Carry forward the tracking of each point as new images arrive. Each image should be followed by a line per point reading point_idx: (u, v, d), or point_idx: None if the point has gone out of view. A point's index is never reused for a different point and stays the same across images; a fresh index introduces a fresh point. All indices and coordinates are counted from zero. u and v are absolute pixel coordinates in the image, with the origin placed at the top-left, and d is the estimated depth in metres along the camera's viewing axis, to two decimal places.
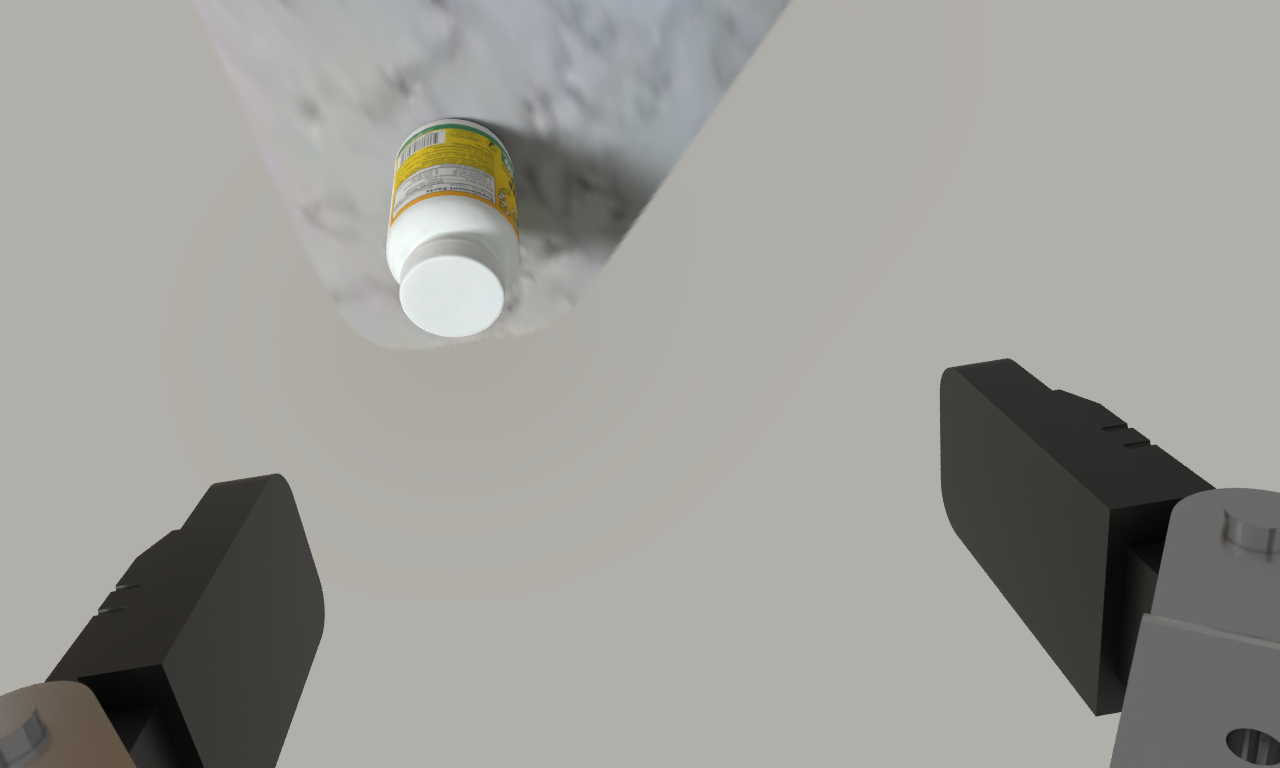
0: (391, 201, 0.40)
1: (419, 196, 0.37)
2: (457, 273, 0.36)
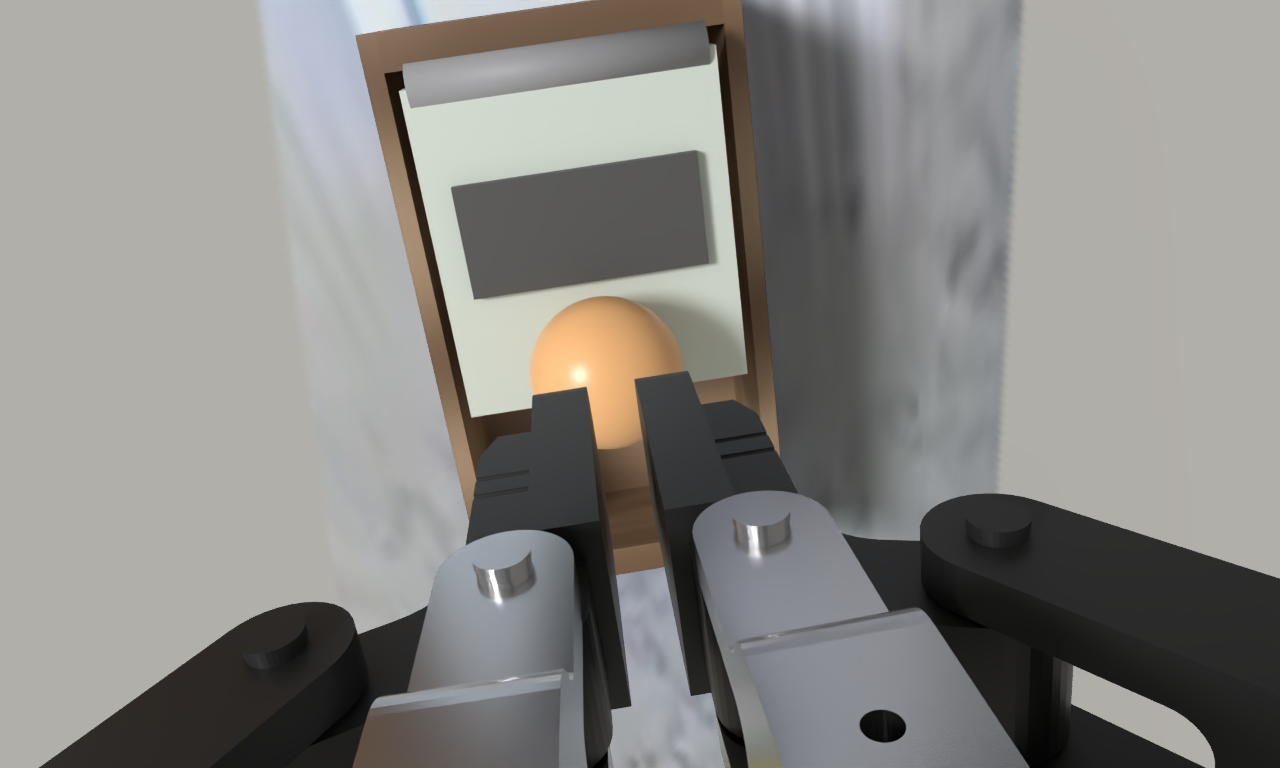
0: None
1: None
2: None
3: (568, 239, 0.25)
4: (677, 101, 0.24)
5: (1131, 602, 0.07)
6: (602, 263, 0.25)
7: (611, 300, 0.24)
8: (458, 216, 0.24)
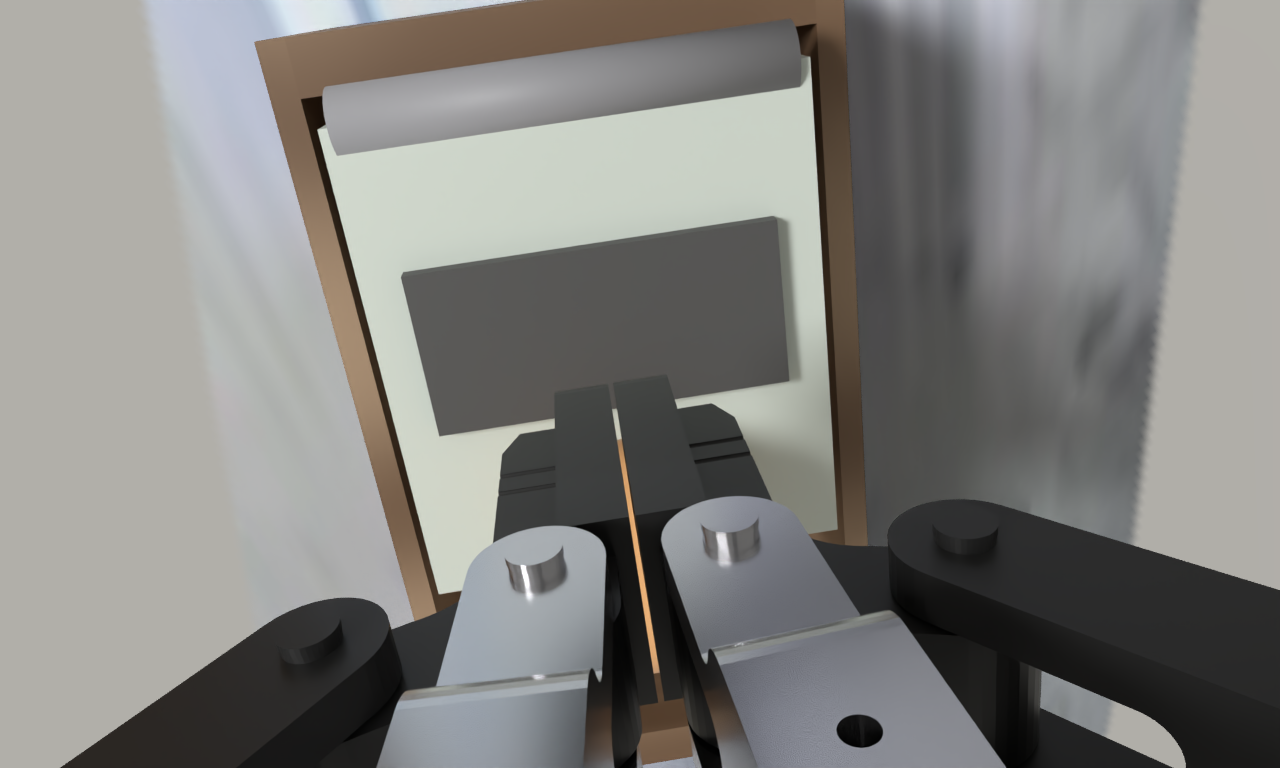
0: None
1: None
2: None
3: (580, 349, 0.17)
4: (748, 143, 0.16)
5: (1099, 606, 0.07)
6: None
7: None
8: (413, 317, 0.16)
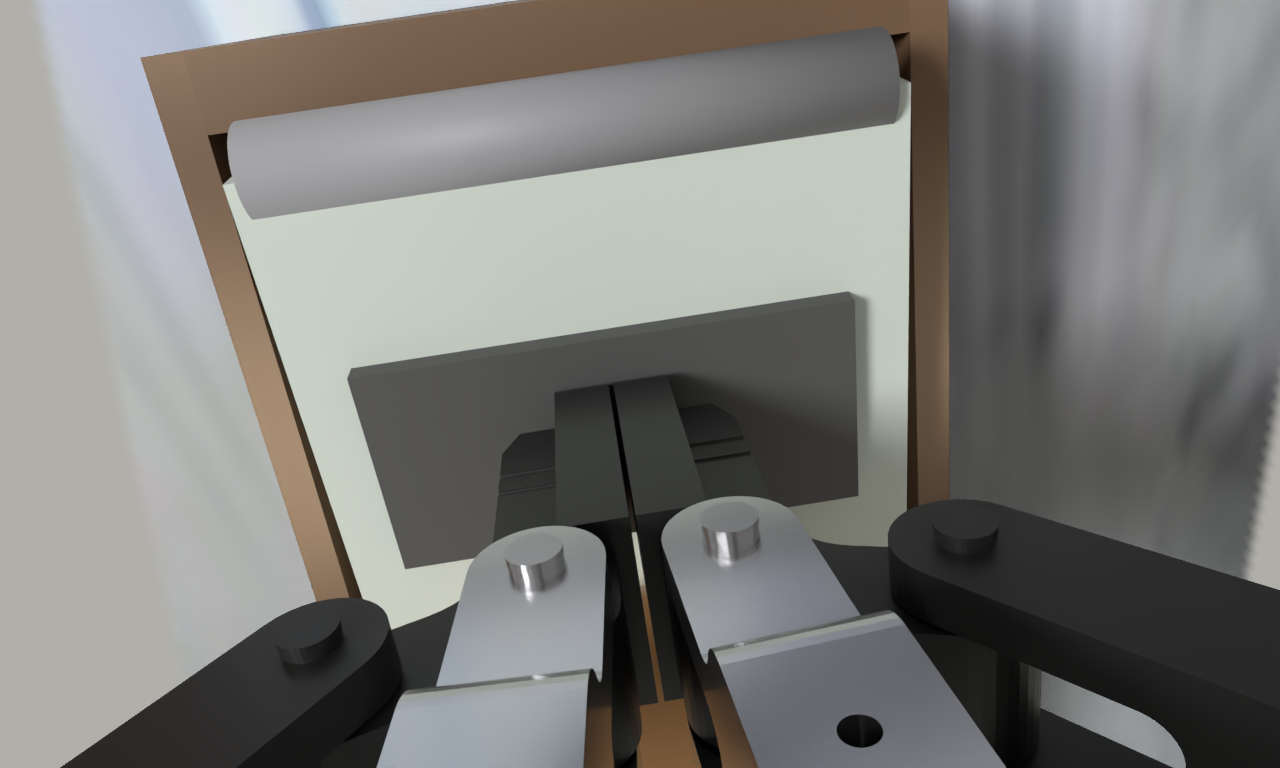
0: None
1: None
2: None
3: None
4: (820, 198, 0.12)
5: (1100, 606, 0.07)
6: None
7: None
8: (366, 429, 0.12)
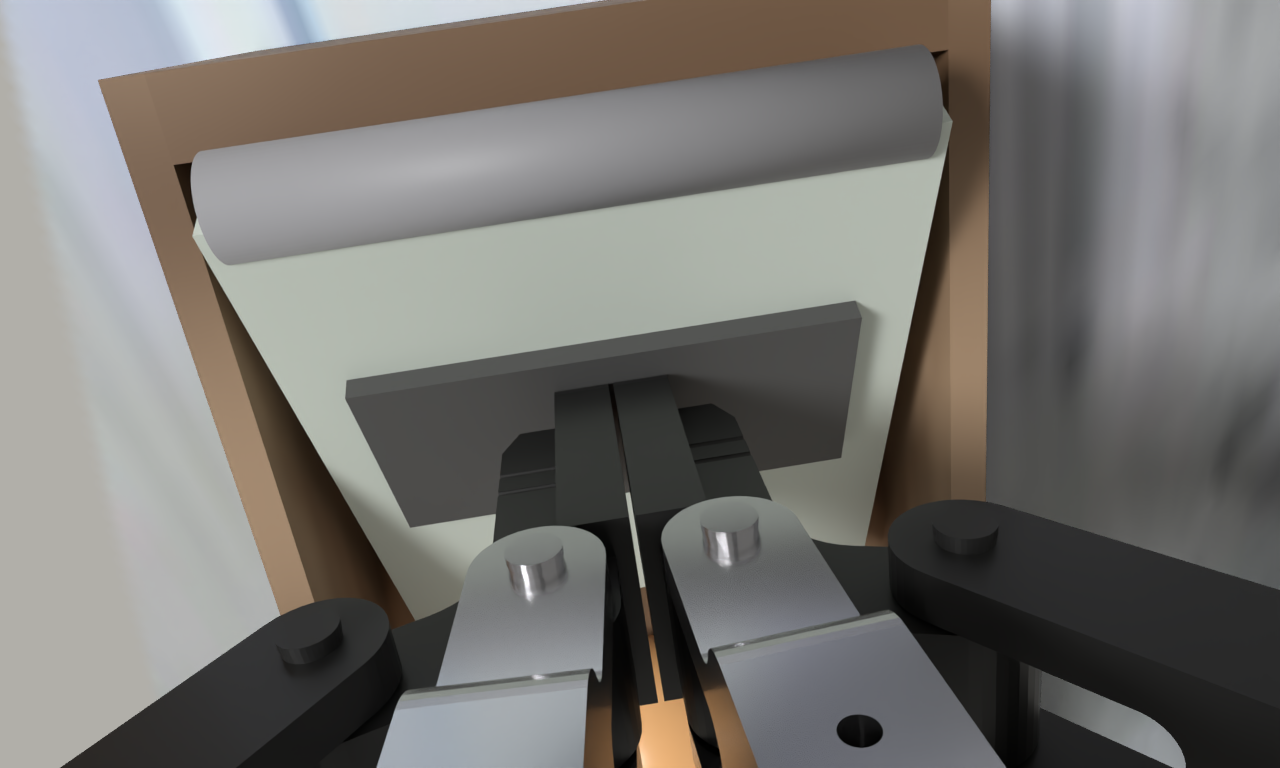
0: None
1: None
2: None
3: None
4: (839, 225, 0.11)
5: (1099, 606, 0.07)
6: None
7: None
8: (367, 434, 0.12)
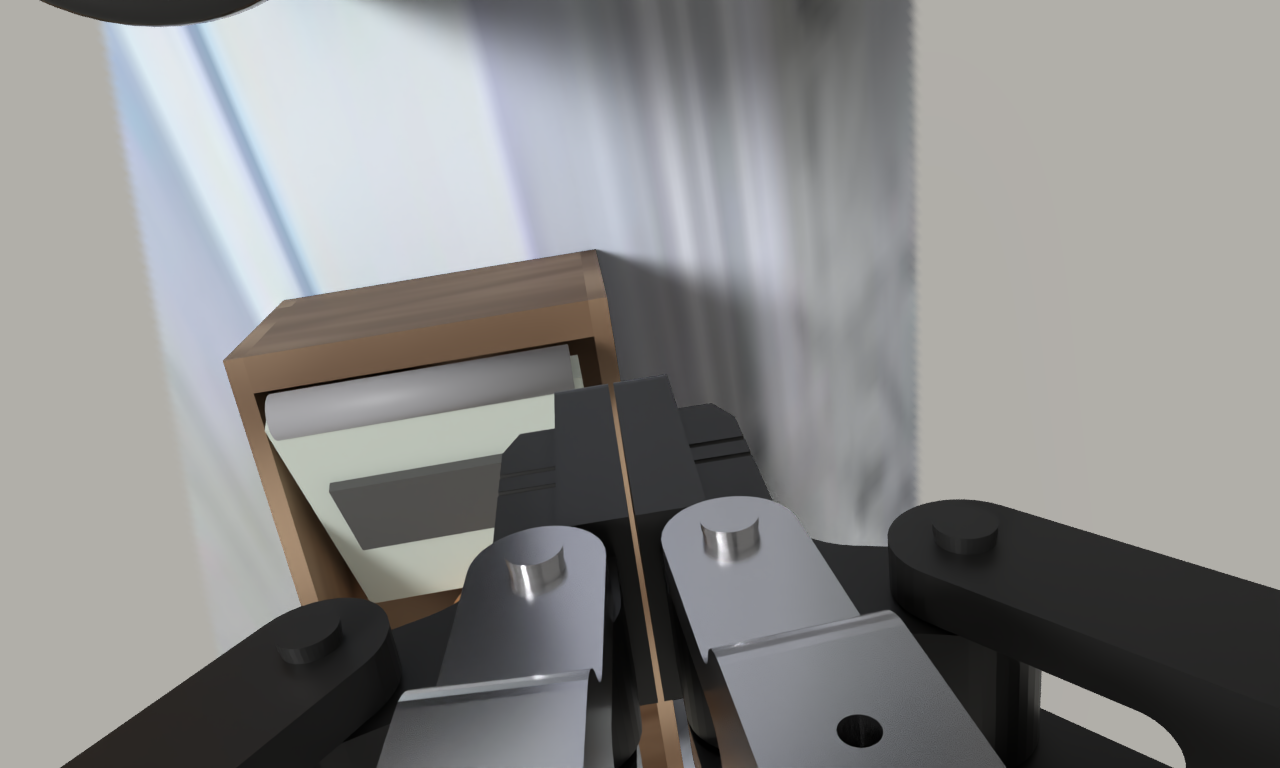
0: None
1: None
2: None
3: (447, 510, 0.27)
4: (545, 415, 0.25)
5: (1099, 606, 0.07)
6: (480, 520, 0.27)
7: None
8: (339, 507, 0.26)
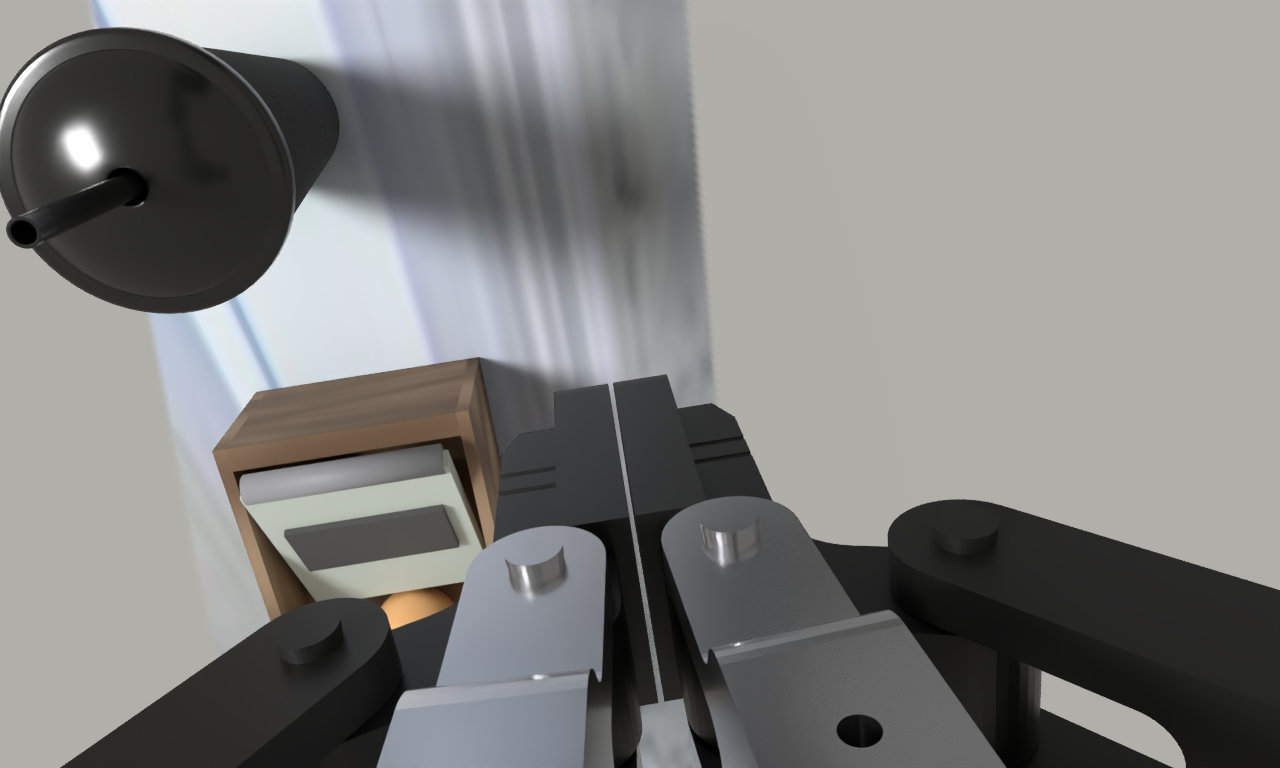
0: None
1: None
2: None
3: (365, 546, 0.39)
4: (427, 488, 0.37)
5: (1100, 606, 0.07)
6: (390, 552, 0.40)
7: None
8: (291, 545, 0.38)
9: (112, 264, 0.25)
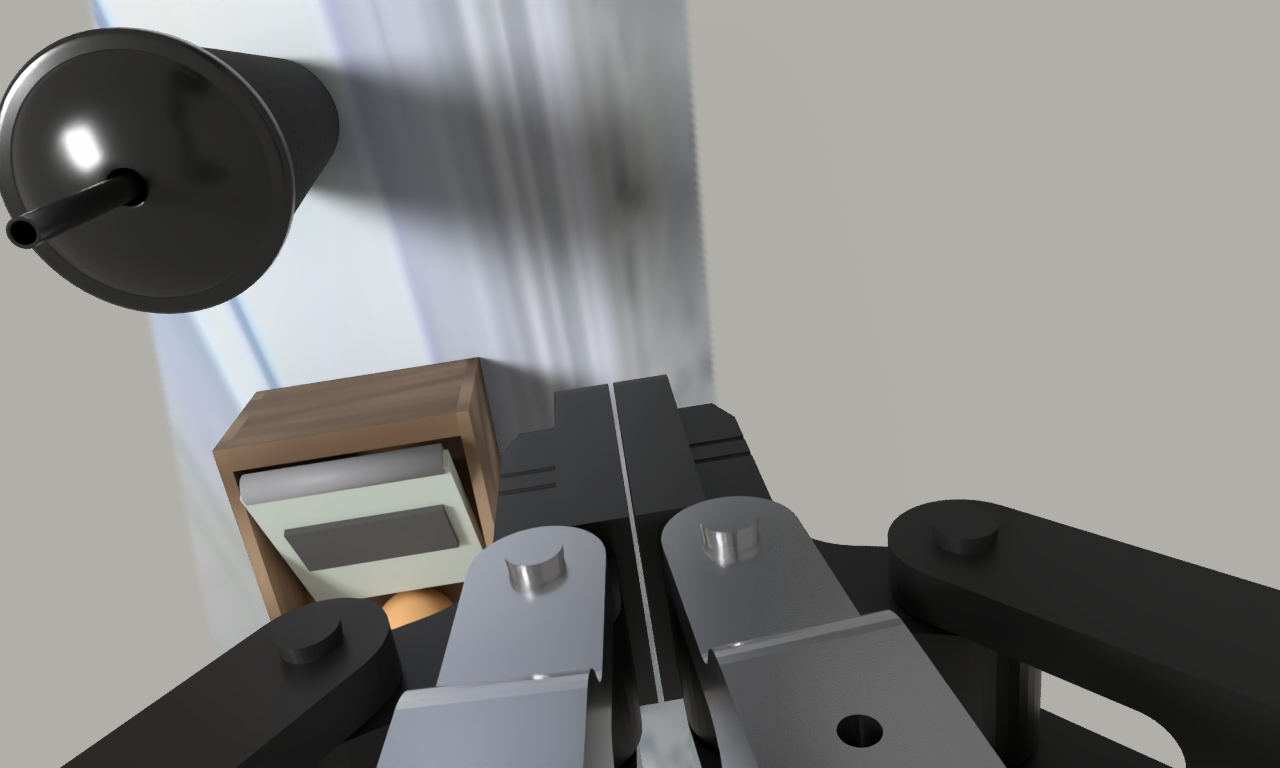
0: None
1: None
2: None
3: (365, 546, 0.39)
4: (427, 488, 0.37)
5: (1099, 605, 0.07)
6: (390, 552, 0.40)
7: None
8: (291, 545, 0.38)
9: (112, 264, 0.25)
